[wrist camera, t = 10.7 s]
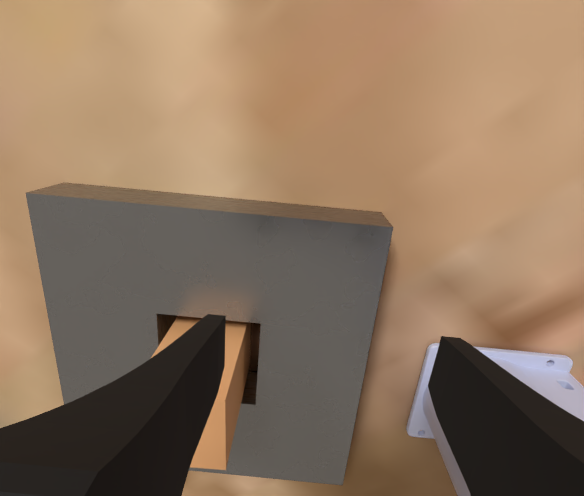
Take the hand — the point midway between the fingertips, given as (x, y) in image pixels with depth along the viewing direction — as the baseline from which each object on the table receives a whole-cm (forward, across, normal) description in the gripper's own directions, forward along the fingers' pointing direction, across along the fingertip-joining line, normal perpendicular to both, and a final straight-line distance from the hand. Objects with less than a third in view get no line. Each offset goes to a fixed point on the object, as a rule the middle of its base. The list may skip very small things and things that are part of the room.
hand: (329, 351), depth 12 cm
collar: (+10, +6, +7) cm, 14 cm away
